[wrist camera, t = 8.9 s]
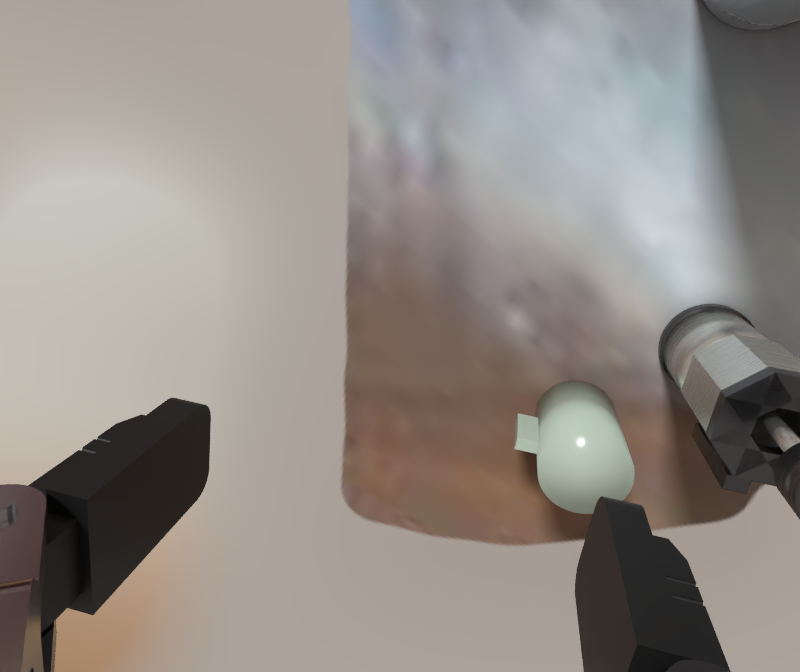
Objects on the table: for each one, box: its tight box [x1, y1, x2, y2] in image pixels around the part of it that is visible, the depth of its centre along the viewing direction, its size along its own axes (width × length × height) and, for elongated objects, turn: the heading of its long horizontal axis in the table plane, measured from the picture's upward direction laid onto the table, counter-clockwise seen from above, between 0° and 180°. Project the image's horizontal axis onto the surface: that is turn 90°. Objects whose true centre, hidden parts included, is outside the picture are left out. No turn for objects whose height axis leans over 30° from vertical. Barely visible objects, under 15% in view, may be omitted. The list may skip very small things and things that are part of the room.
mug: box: [515, 381, 635, 514], centre depth 45 cm, size 6×8×9 cm
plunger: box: [757, 410, 800, 519], centre depth 32 cm, size 4×4×14 cm
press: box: [659, 304, 800, 494], centre depth 39 cm, size 9×7×14 cm
